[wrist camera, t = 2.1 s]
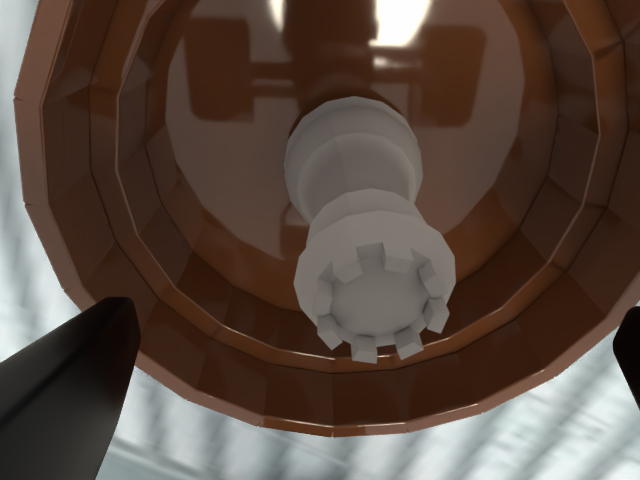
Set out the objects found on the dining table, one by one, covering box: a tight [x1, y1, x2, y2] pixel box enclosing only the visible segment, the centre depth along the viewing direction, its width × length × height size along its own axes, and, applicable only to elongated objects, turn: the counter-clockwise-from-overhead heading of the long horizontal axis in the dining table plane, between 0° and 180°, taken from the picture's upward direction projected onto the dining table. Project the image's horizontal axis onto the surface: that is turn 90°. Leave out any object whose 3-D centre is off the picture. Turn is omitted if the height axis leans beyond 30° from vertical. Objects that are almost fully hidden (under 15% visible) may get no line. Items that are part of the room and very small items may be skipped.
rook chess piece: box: [284, 96, 456, 364], centre depth 12 cm, size 4×4×8 cm
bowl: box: [13, 0, 640, 437], centre depth 13 cm, size 16×16×5 cm
